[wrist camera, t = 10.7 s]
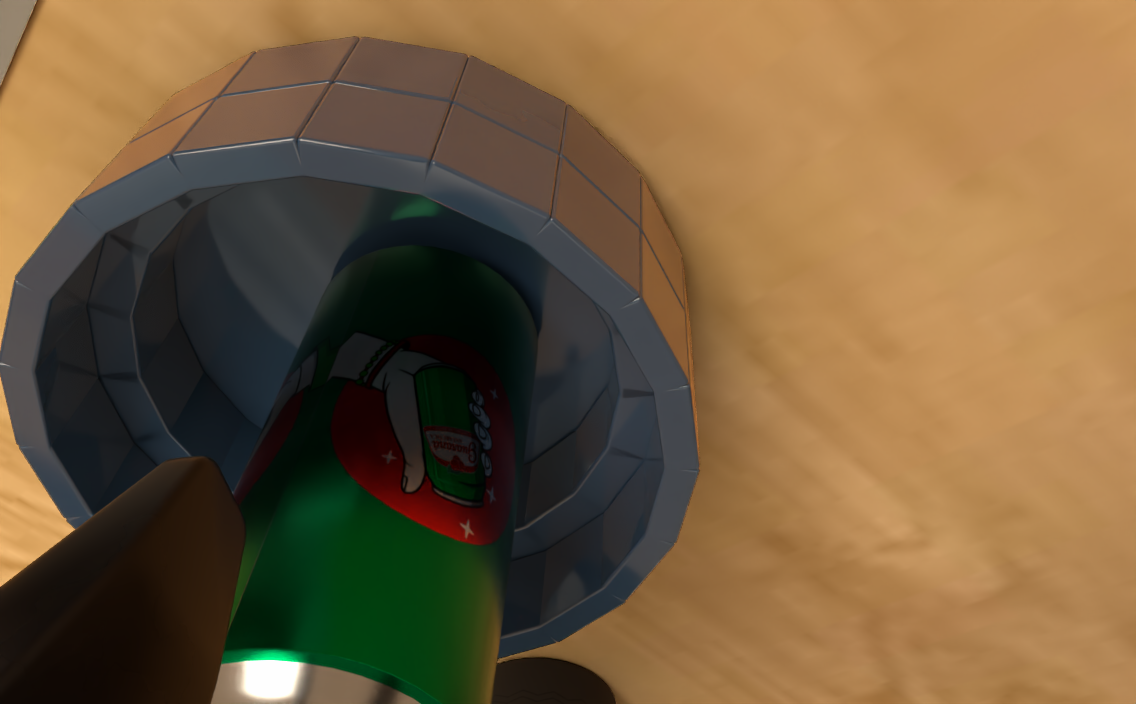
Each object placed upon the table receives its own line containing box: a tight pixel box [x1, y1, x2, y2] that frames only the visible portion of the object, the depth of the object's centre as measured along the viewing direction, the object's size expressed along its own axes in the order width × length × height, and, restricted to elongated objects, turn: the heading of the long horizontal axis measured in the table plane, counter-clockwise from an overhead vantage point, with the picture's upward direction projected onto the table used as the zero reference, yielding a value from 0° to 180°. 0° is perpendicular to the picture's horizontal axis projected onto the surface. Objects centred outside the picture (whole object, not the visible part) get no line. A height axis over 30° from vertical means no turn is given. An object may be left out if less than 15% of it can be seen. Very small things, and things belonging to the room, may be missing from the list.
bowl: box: [0, 36, 700, 659], centre depth 22 cm, size 13×13×5 cm
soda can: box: [211, 245, 538, 704], centre depth 19 cm, size 5×5×12 cm
